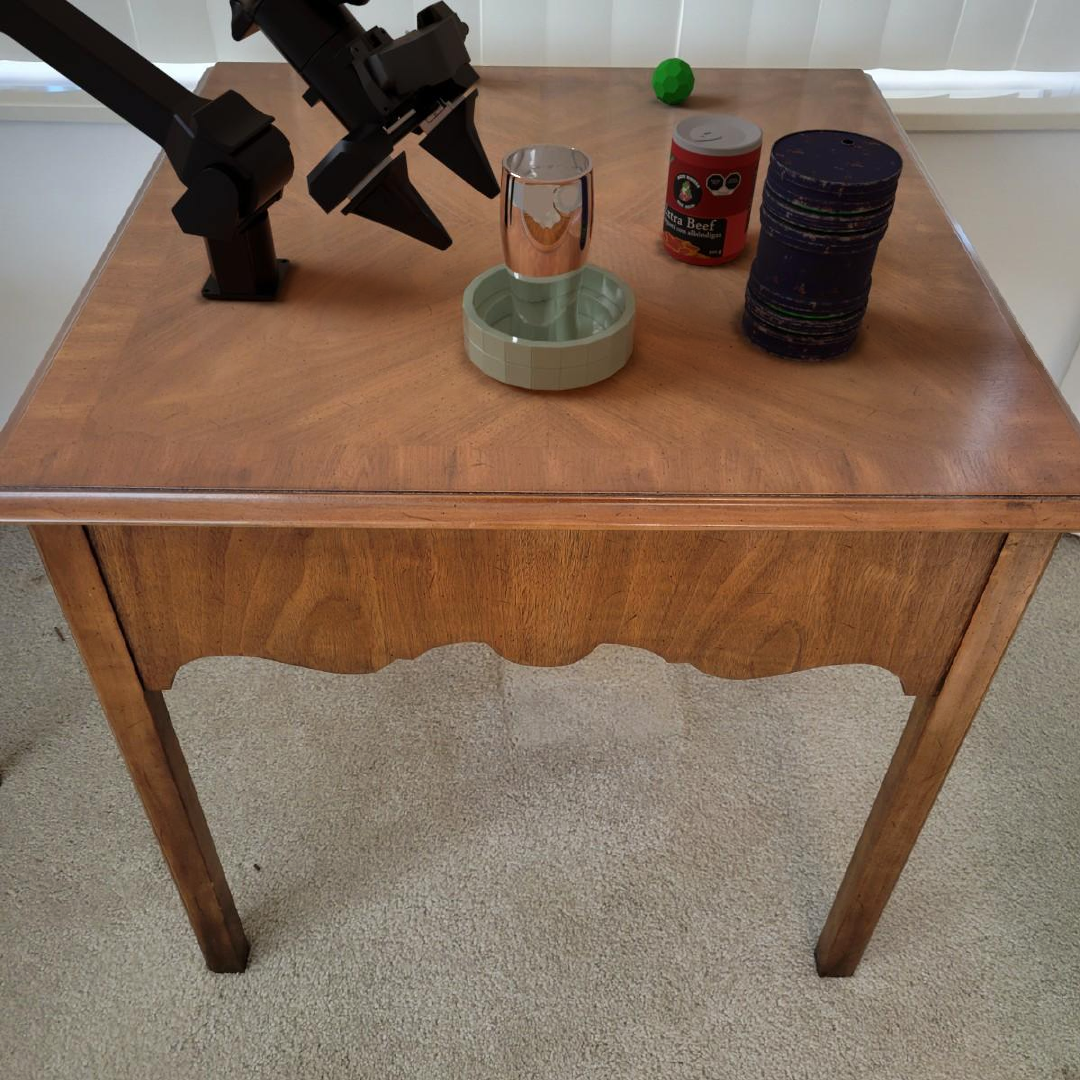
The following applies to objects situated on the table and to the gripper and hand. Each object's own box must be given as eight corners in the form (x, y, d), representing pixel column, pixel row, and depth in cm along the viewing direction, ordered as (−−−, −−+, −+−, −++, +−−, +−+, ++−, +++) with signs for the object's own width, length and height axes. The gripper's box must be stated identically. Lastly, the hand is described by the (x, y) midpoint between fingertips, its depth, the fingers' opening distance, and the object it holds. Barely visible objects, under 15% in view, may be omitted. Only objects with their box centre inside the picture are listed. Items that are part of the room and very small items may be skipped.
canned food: (644, 247, 96) (655, 130, 88) (695, 219, 100) (709, 105, 92) (710, 276, 92) (727, 157, 84) (760, 246, 96) (781, 129, 89)
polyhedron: (695, 109, 120) (699, 67, 117) (653, 110, 120) (657, 68, 117) (687, 94, 124) (692, 52, 121) (647, 94, 124) (651, 53, 120)
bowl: (633, 399, 78) (638, 349, 75) (457, 393, 79) (454, 343, 75) (629, 306, 88) (633, 259, 85) (472, 301, 88) (470, 254, 85)
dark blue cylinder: (837, 375, 81) (883, 196, 71) (722, 341, 84) (750, 165, 74) (872, 318, 87) (920, 145, 77) (764, 288, 91) (795, 119, 80)
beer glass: (516, 372, 80) (516, 188, 69) (491, 326, 84) (486, 147, 74) (599, 357, 81) (611, 175, 71) (569, 313, 86) (576, 136, 76)
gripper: (324, 11, 62) (494, 216, 67) (451, -63, 74) (586, 113, 79) (236, 121, 69) (395, 298, 74) (365, 37, 82) (494, 192, 87)
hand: (473, 220), depth 78 cm, fingers open, 9 cm apart
